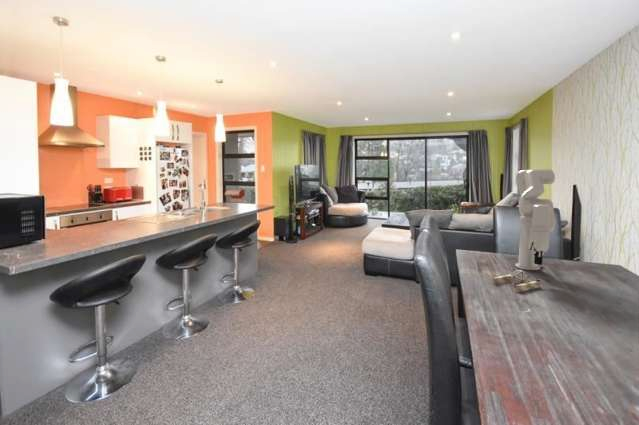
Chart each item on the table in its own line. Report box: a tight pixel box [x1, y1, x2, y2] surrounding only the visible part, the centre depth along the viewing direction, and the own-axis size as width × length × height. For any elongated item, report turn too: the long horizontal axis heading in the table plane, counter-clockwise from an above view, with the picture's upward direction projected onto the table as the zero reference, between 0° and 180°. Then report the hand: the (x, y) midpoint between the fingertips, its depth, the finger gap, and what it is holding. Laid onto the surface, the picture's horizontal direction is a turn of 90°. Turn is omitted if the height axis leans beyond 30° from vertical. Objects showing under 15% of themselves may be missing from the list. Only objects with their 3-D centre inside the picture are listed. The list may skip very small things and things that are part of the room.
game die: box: [508, 268, 529, 287], centre depth 172 cm, size 9×8×10 cm
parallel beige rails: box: [492, 273, 542, 293], centre depth 171 cm, size 16×14×4 cm
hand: (538, 264), depth 176 cm, fingers closed
